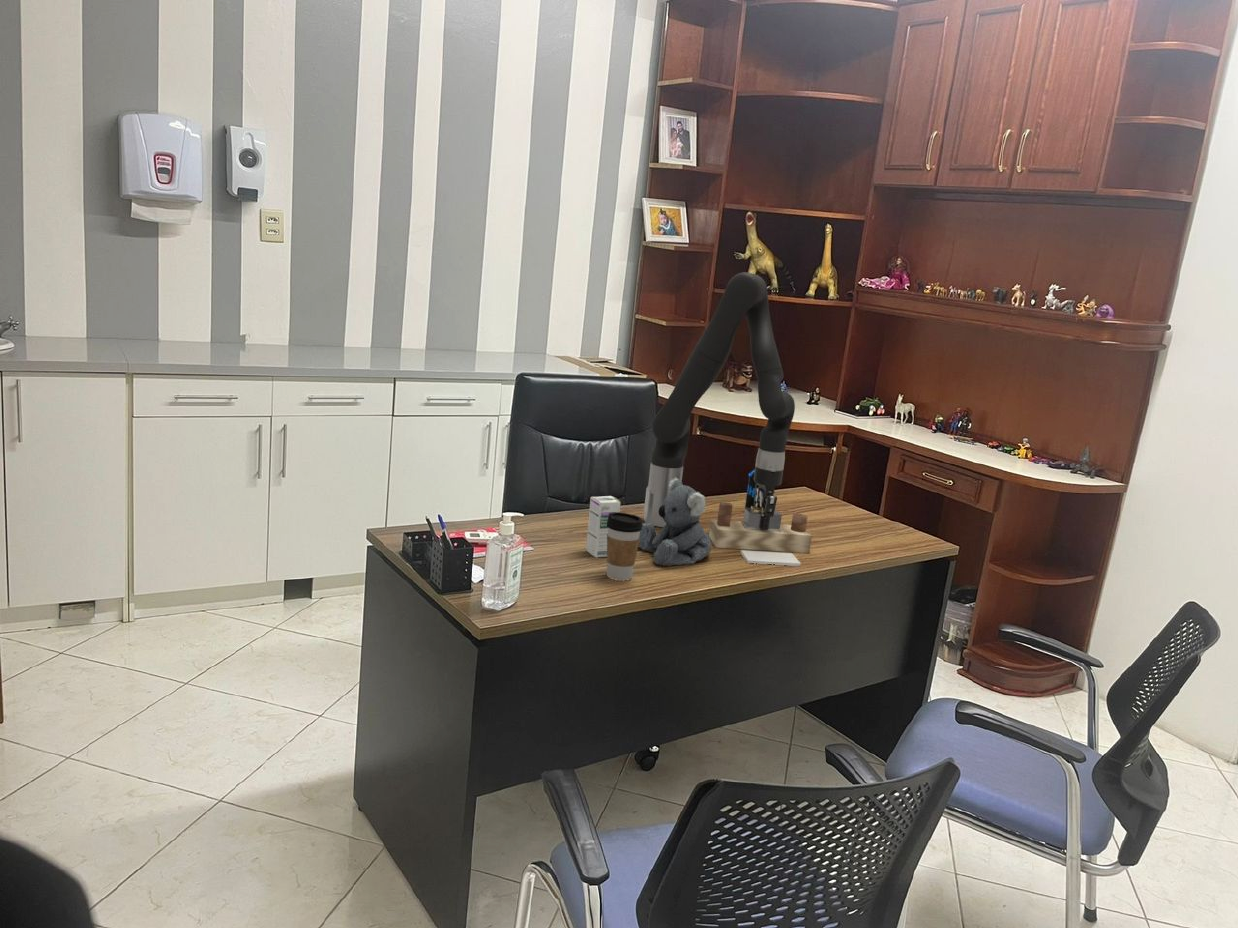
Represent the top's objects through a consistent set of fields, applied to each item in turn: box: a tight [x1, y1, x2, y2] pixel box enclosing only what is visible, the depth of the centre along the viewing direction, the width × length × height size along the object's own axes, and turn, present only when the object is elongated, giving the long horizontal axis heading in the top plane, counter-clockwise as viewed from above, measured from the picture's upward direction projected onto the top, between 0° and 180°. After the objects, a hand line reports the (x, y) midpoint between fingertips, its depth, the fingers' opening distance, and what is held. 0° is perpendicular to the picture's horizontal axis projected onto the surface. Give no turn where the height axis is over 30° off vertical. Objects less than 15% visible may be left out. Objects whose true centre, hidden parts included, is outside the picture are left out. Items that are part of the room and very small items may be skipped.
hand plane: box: [708, 501, 813, 554], centre depth 260 cm, size 26×9×11 cm, turn 96°
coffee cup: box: [606, 512, 643, 581], centre depth 224 cm, size 8×8×15 cm
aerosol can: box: [744, 469, 776, 509], centre depth 273 cm, size 8×8×20 cm
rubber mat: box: [740, 549, 801, 567], centre depth 249 cm, size 14×8×1 cm, turn 96°
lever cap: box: [742, 506, 783, 529], centre depth 259 cm, size 9×5×5 cm, turn 96°
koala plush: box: [638, 478, 712, 567], centre depth 243 cm, size 17×18×20 cm
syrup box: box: [585, 495, 621, 559], centre depth 239 cm, size 6×6×14 cm
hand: (761, 526), depth 260 cm, fingers closed on hand plane, 5 cm apart
